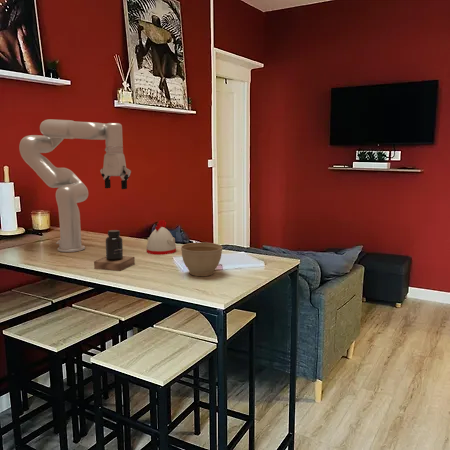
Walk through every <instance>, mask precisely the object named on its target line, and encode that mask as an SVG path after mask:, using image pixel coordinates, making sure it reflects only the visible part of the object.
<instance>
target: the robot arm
mask: <svg viewBox="0 0 450 450" xmlns="http://www.w3.org/2000/svg"><path fill="white" fill-rule="evenodd" d="M39 131H40V133H41V134H42V135H38V134H31V135H25V136H24V137H23V138H22V139H20V142H19V147H18V149H19V154H20V156H21V158H22V159H23V161H24V162H25V163H26V164H27V165H28V166H29V167H30V169H32V170H33V171H34V172H35V173H36V175H37V176H38V177H39V178H40V179H41V180H42V181H43V183H45V185H46V186H48V187H49V188H52V189H55V188H56V191H55V200H56V204H57V209H58V219H59V235H60V236H59V238H60V239H58V240H57V241H56V242H55V244H56V245H59V246H58V247H57V251H58V252H61V253H73V252H74V253H75V252H81V251H84V250H85V249H86V246H85V245H84V244H82V230H81V213H80V208H79V206H78V203H82V202H84V201H86V200H87V199H88V197H89V190H88V187H87V186H86V185H85V183H84V182H83V181H82V180H81V179H80V178H79V177H78V176H77V175H76V173H74V171H72V170H71V169H69V168H67V167H57V166H55V164H53V163H52V162H51V160H49V159H48V158H47V157H46V156H44V155H43V154H47V153H50V152H53V150H55V148H57V146H59V145H60V143H62V142H63V140H64V139H67V140H68V139H69V140H74V139H80V140H96V141H97V140H98V141H99V140H100V141H104V140H105V148H104V151H105V153H104V155H103V166H102V168H101V169H100V170H99V171H100V174H101V177H102V179H103V180H104V188H105V189H110V188H111V179H110V178H111V177H120V179H121V183H120V185H121V190H127V189H128V180H129V178H130V177H131V173H132V170H131V169H129V168H127V163H126V157H125V154H124V145H123V144H124V143H123V141H124V139H123V125H122V124H121V123H119V122H108V123H104V122H103V123H102V122H95V121H94V122H93V121H92V122H91V121H74V120H72V119H71V120H70V119H44V120H43V121H42V122H41V123H40V125H39Z"/></svg>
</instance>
